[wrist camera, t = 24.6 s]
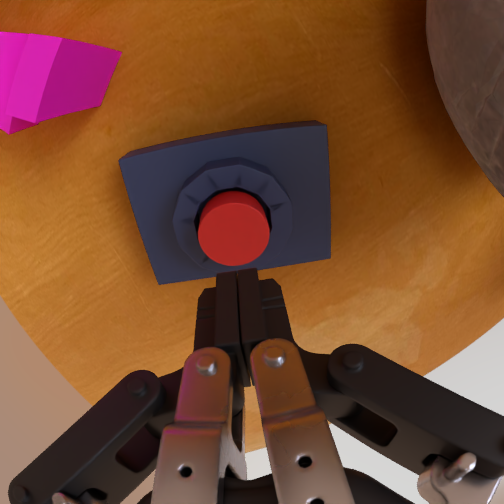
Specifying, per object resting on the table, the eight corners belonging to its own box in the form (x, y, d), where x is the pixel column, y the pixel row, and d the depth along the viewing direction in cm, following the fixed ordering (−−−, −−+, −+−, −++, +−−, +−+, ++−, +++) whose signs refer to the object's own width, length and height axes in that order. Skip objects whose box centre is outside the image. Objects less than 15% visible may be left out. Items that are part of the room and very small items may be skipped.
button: (207, 253, 17) (206, 270, 16) (194, 196, 15) (190, 209, 14) (268, 244, 17) (272, 260, 16) (261, 185, 15) (265, 197, 14)
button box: (163, 267, 22) (153, 302, 18) (129, 151, 17) (106, 168, 14) (322, 242, 22) (339, 273, 18) (316, 120, 17) (337, 129, 14)
